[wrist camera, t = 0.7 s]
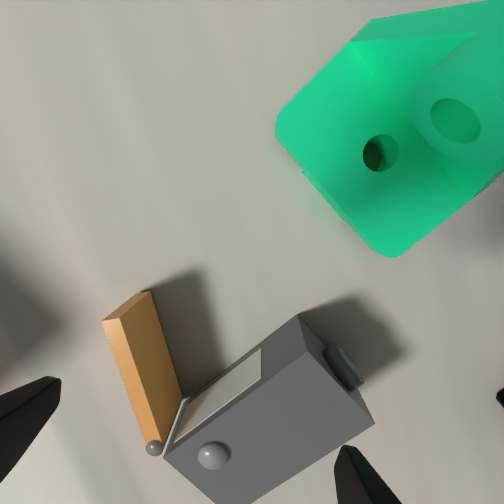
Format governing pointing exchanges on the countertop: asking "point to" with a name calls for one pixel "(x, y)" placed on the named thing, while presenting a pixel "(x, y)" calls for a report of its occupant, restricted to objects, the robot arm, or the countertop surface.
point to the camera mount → (404, 121)
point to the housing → (268, 416)
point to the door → (145, 368)
